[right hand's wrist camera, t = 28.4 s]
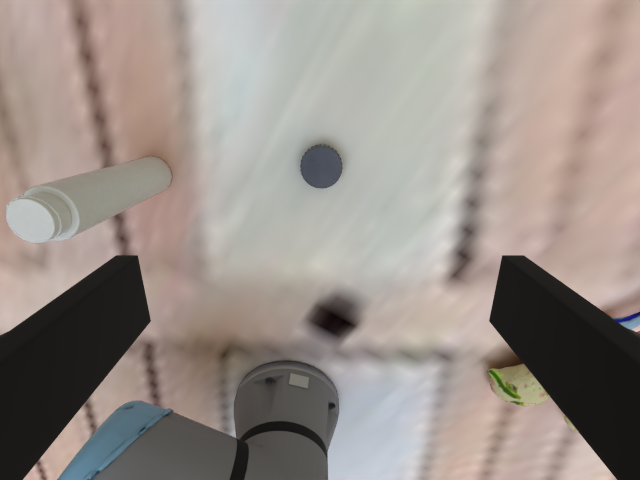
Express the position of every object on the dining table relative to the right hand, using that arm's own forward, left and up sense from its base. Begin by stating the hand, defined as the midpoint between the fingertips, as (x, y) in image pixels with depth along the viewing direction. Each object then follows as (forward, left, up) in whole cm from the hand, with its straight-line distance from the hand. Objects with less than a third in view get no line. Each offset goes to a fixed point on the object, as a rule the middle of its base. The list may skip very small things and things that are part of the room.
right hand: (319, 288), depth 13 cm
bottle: (-10, +17, -29) cm, 35 cm away
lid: (0, 0, -27) cm, 27 cm away
